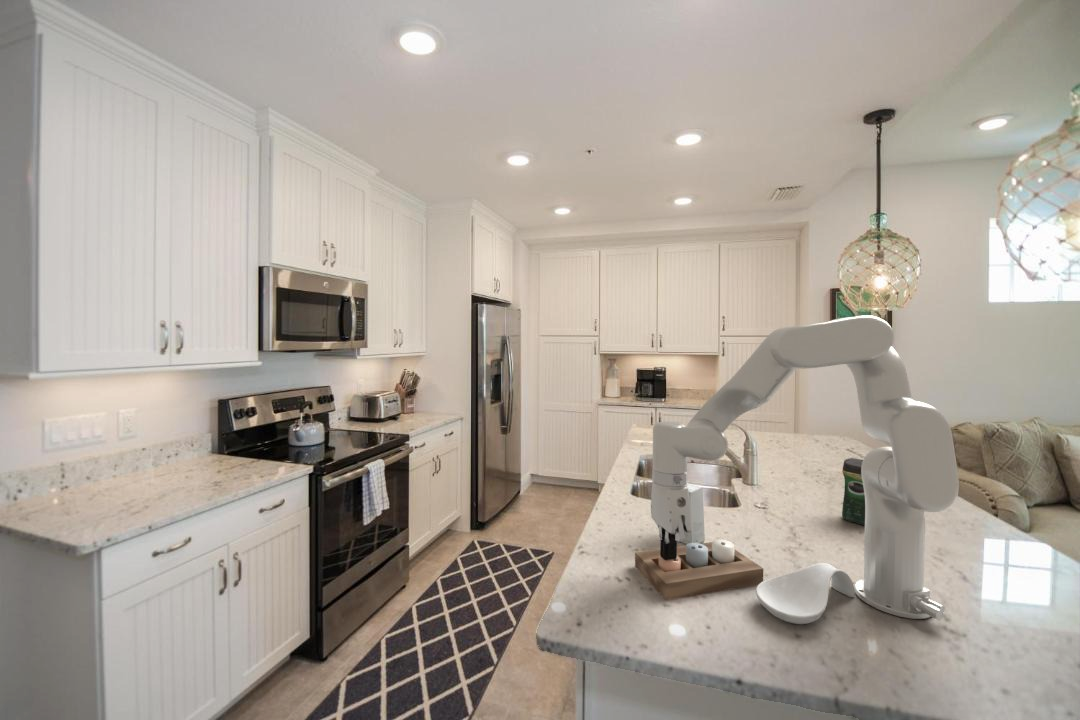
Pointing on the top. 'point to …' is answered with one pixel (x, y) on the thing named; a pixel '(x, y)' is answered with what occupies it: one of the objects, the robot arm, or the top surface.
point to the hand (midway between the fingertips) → (668, 557)
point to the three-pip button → (670, 564)
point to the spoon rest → (803, 592)
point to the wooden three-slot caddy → (698, 574)
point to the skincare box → (695, 516)
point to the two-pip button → (696, 555)
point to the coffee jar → (853, 492)
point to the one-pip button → (722, 551)
